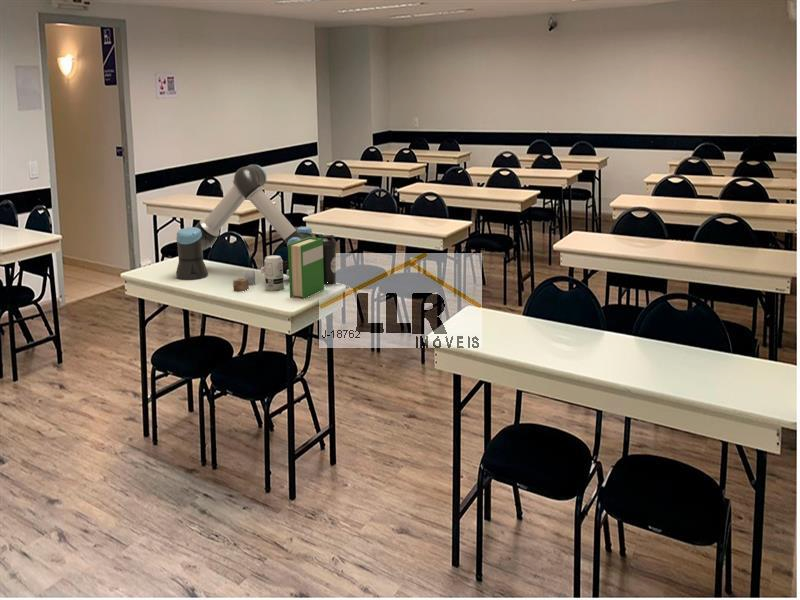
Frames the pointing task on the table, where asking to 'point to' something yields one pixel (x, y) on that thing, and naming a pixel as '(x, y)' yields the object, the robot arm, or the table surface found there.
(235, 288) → the walnut block
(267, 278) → the supplement can
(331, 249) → the water bottle
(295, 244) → the hardback book
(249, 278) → the grey plastic tub
